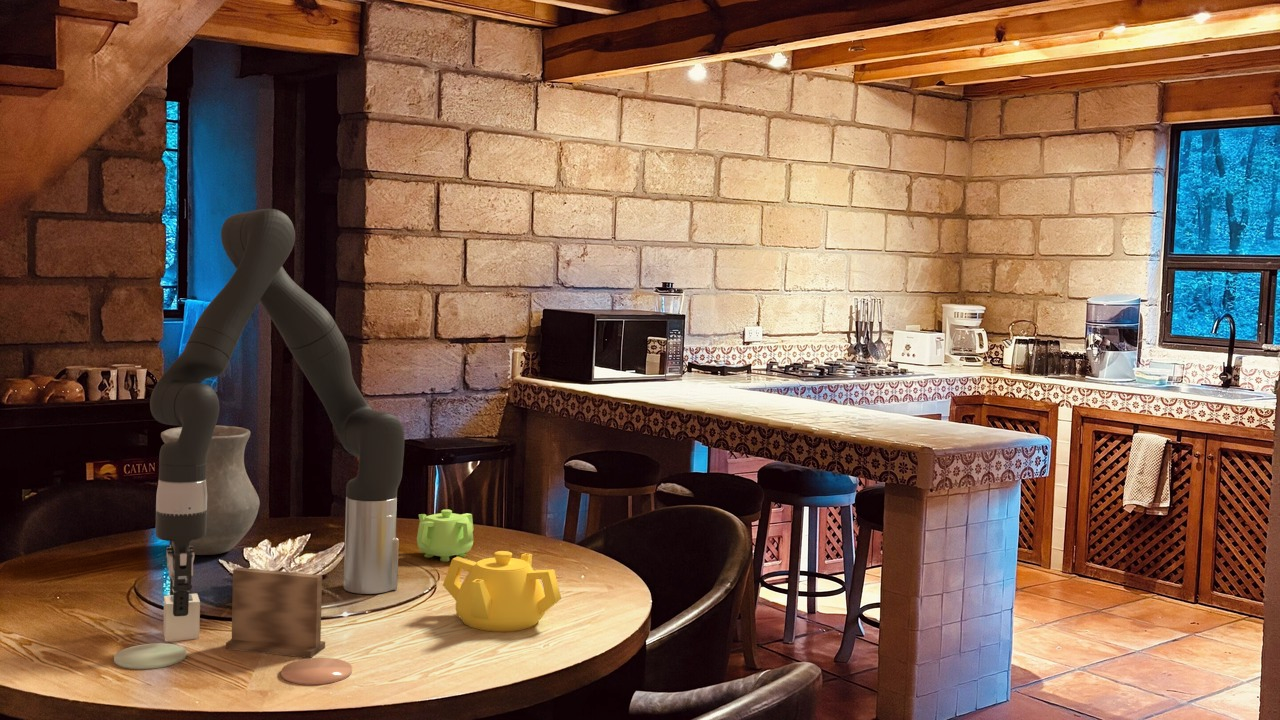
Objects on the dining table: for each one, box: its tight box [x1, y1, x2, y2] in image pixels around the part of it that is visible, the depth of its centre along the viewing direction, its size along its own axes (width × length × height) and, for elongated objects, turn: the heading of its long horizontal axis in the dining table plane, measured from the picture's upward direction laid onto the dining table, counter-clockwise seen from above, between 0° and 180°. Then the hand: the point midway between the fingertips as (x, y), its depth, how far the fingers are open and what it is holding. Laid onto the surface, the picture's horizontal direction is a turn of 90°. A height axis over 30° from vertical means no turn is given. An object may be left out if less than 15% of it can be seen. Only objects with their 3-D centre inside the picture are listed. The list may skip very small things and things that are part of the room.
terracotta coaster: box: [280, 657, 353, 686], centre depth 173 cm, size 10×10×1 cm
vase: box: [160, 424, 260, 556], centre depth 240 cm, size 20×19×25 cm
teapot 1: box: [416, 509, 474, 563], centre depth 245 cm, size 12×12×10 cm
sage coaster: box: [113, 642, 187, 670], centre depth 176 cm, size 10×10×1 cm
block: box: [162, 593, 201, 643], centre depth 187 cm, size 5×5×6 cm
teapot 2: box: [442, 550, 562, 633], centre depth 202 cm, size 17×17×12 cm
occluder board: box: [225, 567, 326, 659], centre depth 183 cm, size 14×5×12 cm, turn 80°
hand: (178, 608), depth 187 cm, fingers open, 8 cm apart
